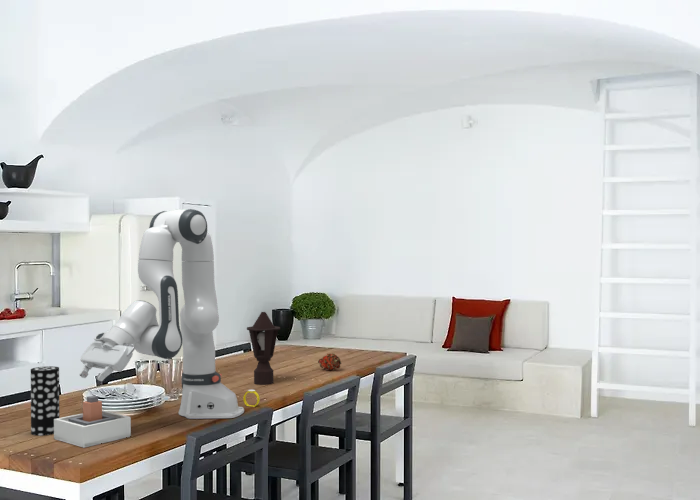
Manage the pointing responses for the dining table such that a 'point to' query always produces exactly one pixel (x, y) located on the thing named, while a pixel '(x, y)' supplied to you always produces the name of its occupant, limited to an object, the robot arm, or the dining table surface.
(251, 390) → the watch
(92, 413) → the connector
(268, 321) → the lantern
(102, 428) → the walled box
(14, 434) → the dining table surface
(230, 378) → the dining table surface
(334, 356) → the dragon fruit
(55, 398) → the spotted tube
